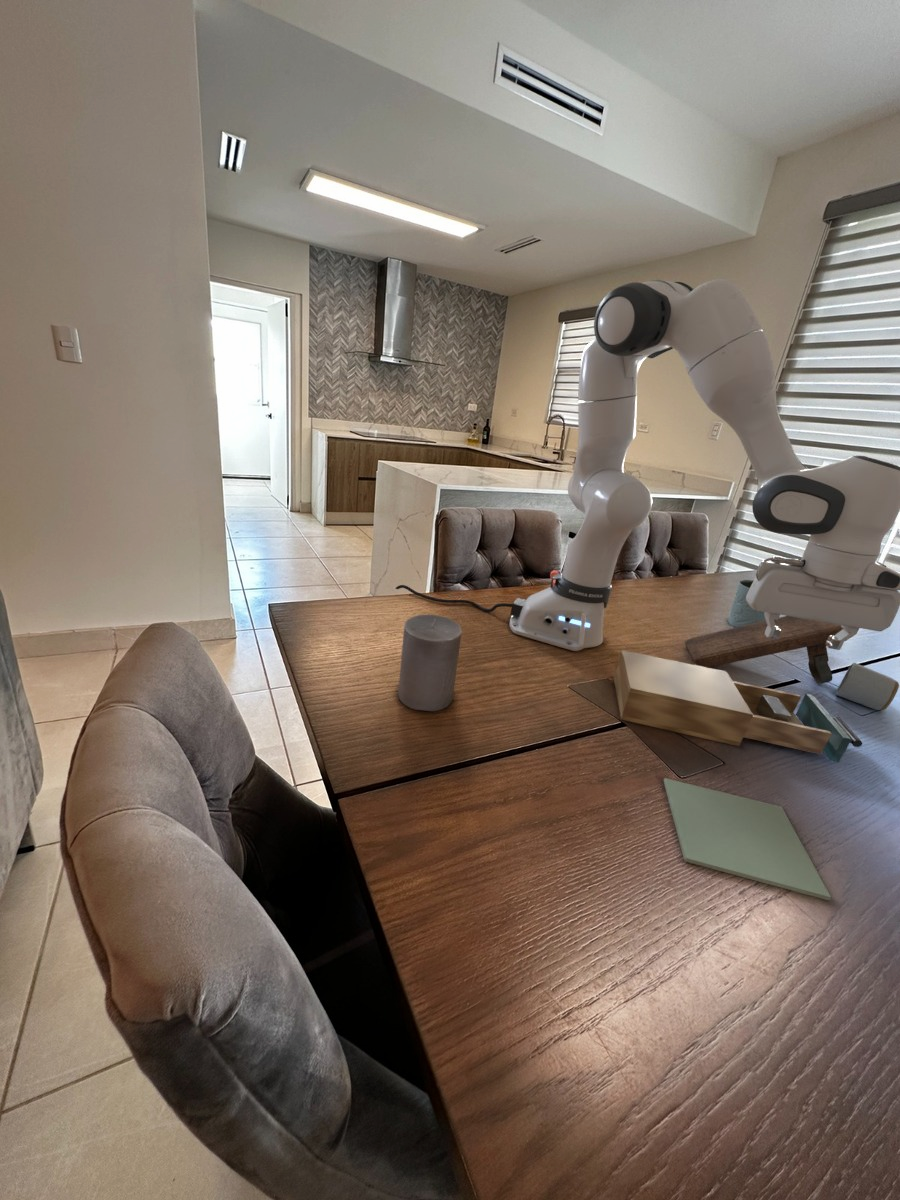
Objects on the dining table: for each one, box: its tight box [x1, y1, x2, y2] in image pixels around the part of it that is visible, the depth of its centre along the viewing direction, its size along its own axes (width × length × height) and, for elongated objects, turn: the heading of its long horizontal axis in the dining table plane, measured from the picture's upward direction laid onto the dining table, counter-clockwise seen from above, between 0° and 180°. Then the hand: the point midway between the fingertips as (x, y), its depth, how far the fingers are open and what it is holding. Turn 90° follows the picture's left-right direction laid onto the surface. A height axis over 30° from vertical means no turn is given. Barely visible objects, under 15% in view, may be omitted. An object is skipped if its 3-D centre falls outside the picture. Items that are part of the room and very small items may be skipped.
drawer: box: [732, 680, 863, 763], centre depth 84 cm, size 23×13×5 cm, turn 77°
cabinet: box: [613, 649, 753, 747], centre depth 87 cm, size 20×15×7 cm
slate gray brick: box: [756, 694, 792, 722], centre depth 84 cm, size 3×6×4 cm, turn 167°
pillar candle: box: [397, 614, 463, 712], centre depth 80 cm, size 10×10×15 cm
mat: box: [663, 777, 832, 901], centre depth 62 cm, size 16×14×1 cm
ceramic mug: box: [835, 662, 900, 712], centre depth 99 cm, size 11×8×8 cm
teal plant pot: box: [727, 579, 766, 628], centre depth 130 cm, size 10×10×12 cm
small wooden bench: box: [684, 615, 843, 685], centre depth 106 cm, size 10×16×30 cm
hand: (801, 642), depth 79 cm, fingers open, 8 cm apart
